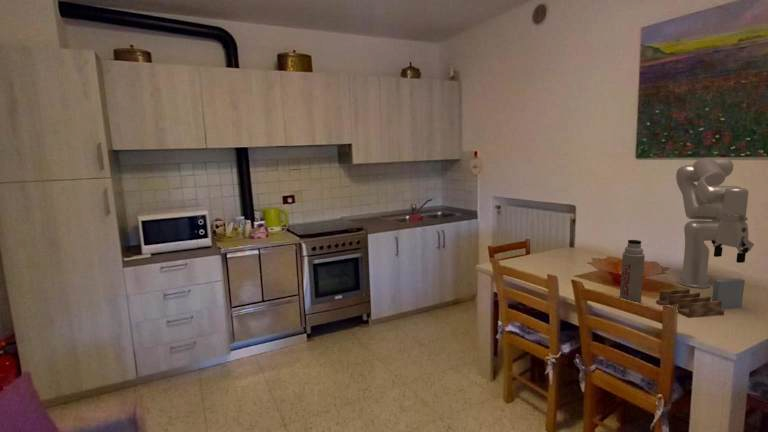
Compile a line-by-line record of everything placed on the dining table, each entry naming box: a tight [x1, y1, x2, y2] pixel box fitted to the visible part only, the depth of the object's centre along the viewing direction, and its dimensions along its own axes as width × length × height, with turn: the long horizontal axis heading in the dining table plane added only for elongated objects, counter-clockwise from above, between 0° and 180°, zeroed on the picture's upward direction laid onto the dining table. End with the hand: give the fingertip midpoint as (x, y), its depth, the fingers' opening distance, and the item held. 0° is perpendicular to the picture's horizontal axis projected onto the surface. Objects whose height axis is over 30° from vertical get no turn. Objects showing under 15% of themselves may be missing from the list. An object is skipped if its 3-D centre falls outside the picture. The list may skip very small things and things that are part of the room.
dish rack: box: [655, 288, 725, 319], centre depth 169 cm, size 16×16×6 cm
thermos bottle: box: [619, 239, 645, 304], centre depth 174 cm, size 8×8×28 cm
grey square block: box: [711, 277, 746, 310], centre depth 169 cm, size 12×2×12 cm, turn 99°
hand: (728, 259), depth 167 cm, fingers open, 9 cm apart
